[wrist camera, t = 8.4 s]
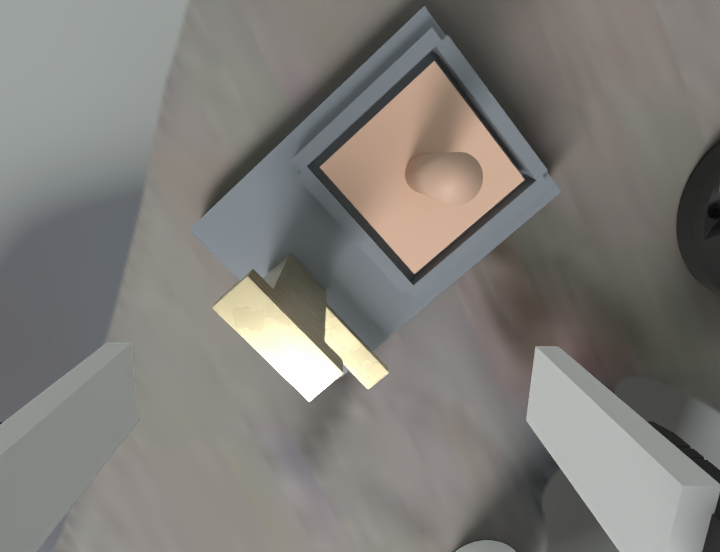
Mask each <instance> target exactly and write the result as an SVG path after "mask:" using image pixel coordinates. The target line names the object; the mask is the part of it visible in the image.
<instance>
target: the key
mask: <svg viewBox="0 0 720 552" xmlns="http://www.w3.org/2000/svg"><path fill="white" fill-rule="evenodd" d="M326 298H327V292H326V291H325V290H324V289H323V288H322V287H321V286H320V284H319V283H318V282H317V281H316V280H315V279H314V278H313V277H312V276H311V275H310V274H309V273H308V272H307V271H306V270H305V269H304V267H303V266H302V265H301V264H300V263H299V262H298V261H297V260H296V259H295V258H294V257H293V256H292V255H291V254H290V253H289V254H288V255H287V256H286V257H285V258H284V259H282V260H281V261H280V262H279V263H278V264H277V265H276V266H275V267H273V268H272V269H271V270H270V271H269V272H268V273H267V274H266V275H265V277H264V278H262V277H261V276H260V275H259V274H258V273H257V272H256V271H255V270H254V269H252V270H251V271H250V272H249V273H247V274H246V275H245V276H244V277H243V278H242V279H241V280H240V281H238V282H237V283H236V284H235V285H234V286H233V287H232V288H231V289H230V290H228V291H227V292H226V293H225V294H224V295H223V296H222V297H221V298H220V299H219V300H218V301H217V302H216V304H215V305H214V306H213V307H212V308H213V309H214V310H215V311H216V312H217V313H218V314H219V315H220V316H221V317H222V318H223V319H224V320H225V321H226V322H227V323H228V324H229V325H230V326H231V327H233V328H234V329H235V330H236V331H237V332H238V333H239V334H240V335H241V336H242V337H243V338H244V339H245V340H246V341H247V342H248V343H249V344H250V345H251V346H252V347H253V348H254V349H255V350H256V351H257V352H258V353H259V354H260V355H262V356H263V357H264V358H265V359H266V360H267V361H268V362H269V363H270V364H271V365H272V366H273V367H274V368H275V369H276V370H277V371H278V372H279V373H280V374H281V375H282V376H283V377H284V378H285V379H286V380H287V381H288V382H289V383H291V384H292V385H293V386H294V387H295V388H296V389H297V390H298V391H299V392H300V393H301V394H302V395H303V396H304V397H305V398H306V399H307V400H308V401H311V400H312V399H313V398H314V397H315V396H317V395H318V394H319V393H320V392H321V391H323V390H324V389H325V388H326V387H327V386H329V385H330V384H331V383H332V382H334V381H335V380H336V379H337V378H338V377H340V376H341V375H342V374H343V364H344V365H345V367H346V368H347V369H348V370H349V371H350V372H351V373H352V374H353V375H354V376H355V377H356V378H357V379H358V380H359V381H360V382H361V383H362V384H363V385H364V386H365V387H366V388H367V389H369V388H371V387H372V386H373V385H374V384H375V383H377V382H378V381H379V380H380V379H382V378H383V377H384V376H385V375H387V374H388V373H389V371H388V368H387V366H386V365H385V364H384V363H383V362H382V360H381V359H380V358H379V357H378V356H377V355H376V354H375V353H374V352H373V351H372V350H371V349H370V348H369V347H368V346H367V345H366V344H365V343H364V342H363V340H362V339H361V338H360V337H359V336H358V335H357V334H356V333H355V332H354V331H353V330H352V329H351V328H350V327H349V326H348V325H347V324H346V323H345V322H344V320H343V319H342V318H341V317H340V316H339V315H338V314H337V313H336V312H335V311H334V310H333V309H332V308H331V307H330V306H329V305H328V304H327V303H326Z"/></svg>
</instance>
